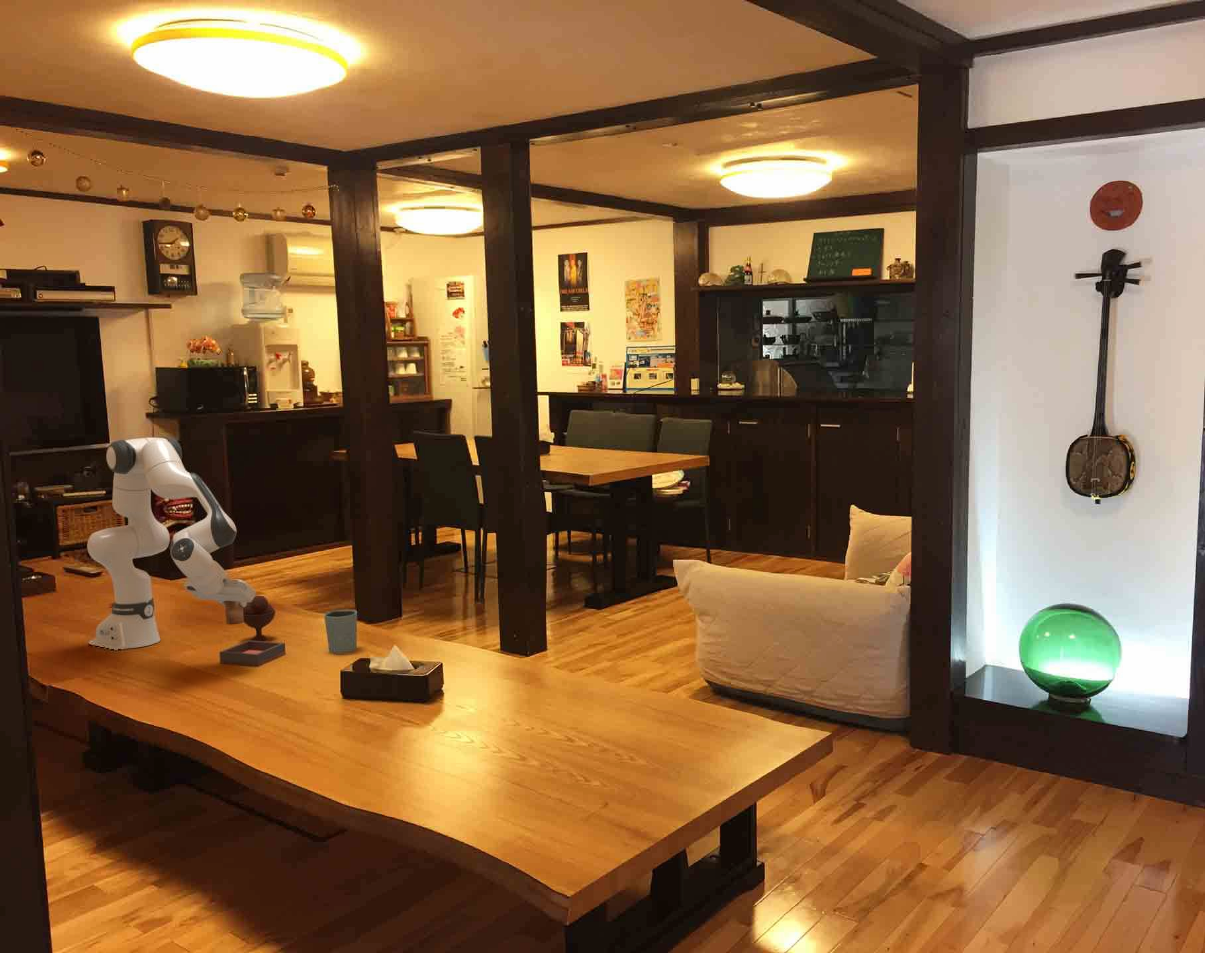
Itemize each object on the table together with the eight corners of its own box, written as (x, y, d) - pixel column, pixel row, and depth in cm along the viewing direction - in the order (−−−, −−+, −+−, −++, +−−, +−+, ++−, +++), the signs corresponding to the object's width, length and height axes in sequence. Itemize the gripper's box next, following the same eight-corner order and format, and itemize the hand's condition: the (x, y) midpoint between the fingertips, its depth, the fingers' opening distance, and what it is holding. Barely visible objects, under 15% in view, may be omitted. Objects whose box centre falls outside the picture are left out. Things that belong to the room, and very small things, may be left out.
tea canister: (222, 623, 311) (220, 591, 310) (233, 619, 316) (231, 587, 315) (236, 625, 310) (234, 592, 309) (247, 620, 315) (245, 588, 313)
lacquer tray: (220, 663, 313) (219, 651, 312) (248, 651, 326) (248, 640, 325) (258, 666, 308) (257, 654, 308) (285, 653, 321) (284, 642, 321)
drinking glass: (339, 656, 317) (337, 618, 316) (319, 651, 323) (317, 614, 322) (365, 648, 325) (363, 611, 324) (345, 644, 331) (343, 607, 330)
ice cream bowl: (281, 635, 344) (279, 591, 342) (267, 644, 333) (265, 599, 331) (251, 635, 345) (248, 591, 343) (236, 644, 334) (233, 599, 332)
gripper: (245, 571, 301) (268, 597, 311) (188, 568, 308) (212, 593, 318) (236, 590, 298) (259, 615, 308) (178, 586, 304) (203, 611, 314)
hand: (235, 604), depth 313 cm, fingers closed on tea canister, 5 cm apart
